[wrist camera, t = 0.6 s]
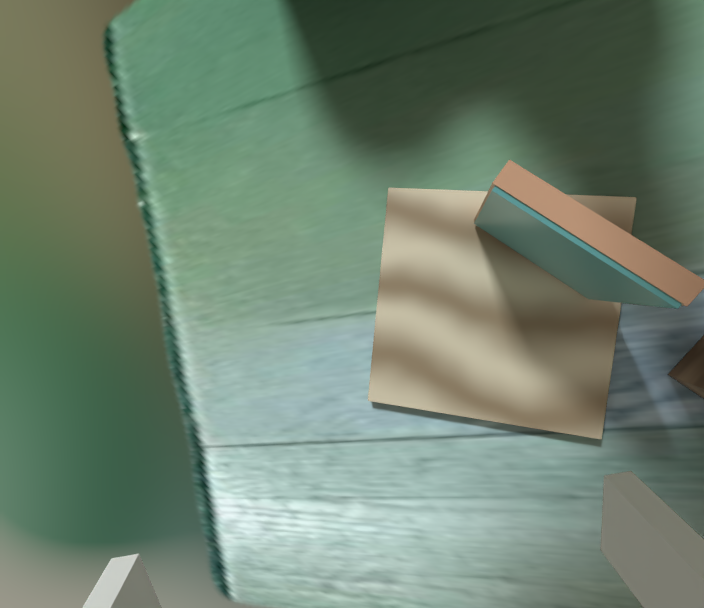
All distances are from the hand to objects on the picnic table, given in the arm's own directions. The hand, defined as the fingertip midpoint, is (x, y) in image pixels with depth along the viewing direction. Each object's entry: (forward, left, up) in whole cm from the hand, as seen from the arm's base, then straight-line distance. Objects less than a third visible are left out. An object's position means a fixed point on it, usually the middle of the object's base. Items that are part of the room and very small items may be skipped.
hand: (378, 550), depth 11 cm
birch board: (-6, +5, -24) cm, 25 cm away
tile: (-11, +8, -23) cm, 27 cm away
